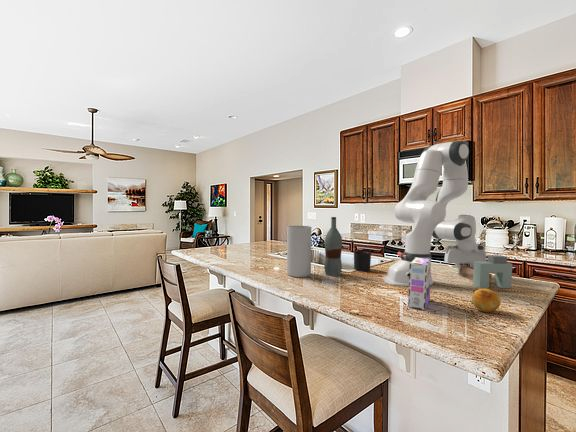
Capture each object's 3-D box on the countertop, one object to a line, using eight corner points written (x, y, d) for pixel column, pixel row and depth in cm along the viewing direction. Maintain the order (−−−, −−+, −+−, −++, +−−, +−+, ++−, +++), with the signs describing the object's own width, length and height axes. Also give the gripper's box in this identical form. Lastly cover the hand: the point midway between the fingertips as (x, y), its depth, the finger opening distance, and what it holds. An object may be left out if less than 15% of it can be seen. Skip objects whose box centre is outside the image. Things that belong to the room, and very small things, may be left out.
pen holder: (369, 268, 172) (369, 250, 172) (372, 271, 163) (372, 253, 162) (352, 267, 173) (352, 250, 173) (354, 271, 164) (354, 253, 163)
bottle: (322, 272, 161) (323, 216, 160) (338, 271, 162) (339, 216, 161) (326, 276, 152) (327, 217, 151) (343, 276, 153) (345, 217, 152)
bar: (482, 284, 140) (483, 273, 139) (458, 274, 160) (458, 264, 159) (491, 284, 140) (491, 273, 139) (465, 274, 160) (466, 264, 159)
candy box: (425, 310, 105) (426, 264, 104) (407, 307, 108) (408, 262, 107) (430, 300, 116) (431, 258, 116) (414, 297, 120) (415, 256, 119)
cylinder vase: (288, 271, 162) (288, 225, 161) (311, 272, 161) (312, 225, 159) (285, 277, 150) (285, 227, 149) (310, 278, 148) (310, 227, 147)
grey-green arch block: (479, 287, 134) (481, 256, 133) (472, 284, 139) (474, 254, 138) (511, 288, 134) (512, 257, 133) (503, 285, 139) (504, 255, 138)
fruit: (489, 317, 100) (490, 293, 99) (466, 308, 107) (467, 286, 107) (504, 313, 103) (505, 290, 103) (481, 305, 110) (482, 284, 110)
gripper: (448, 246, 154) (447, 272, 154) (488, 246, 154) (487, 273, 154) (442, 244, 160) (441, 270, 161) (480, 245, 160) (479, 270, 161)
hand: (464, 271), depth 157 cm, fingers closed on bar, 4 cm apart
